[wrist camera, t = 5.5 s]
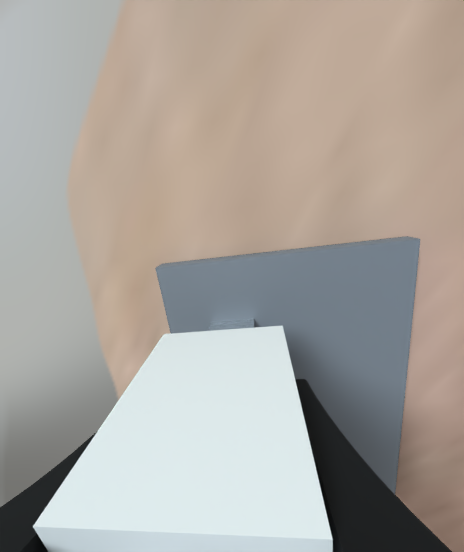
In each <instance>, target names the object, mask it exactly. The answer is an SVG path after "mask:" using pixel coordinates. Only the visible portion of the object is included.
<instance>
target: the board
mask: <svg viewBox="0 0 464 552" xmlns="http://www.w3.org/2000/svg"><path fill="white" fill-rule="evenodd" d="M419 247H420V239H418V238H413V237H408V236H407V237H398V238H389V239H380V240H371V241H362V242H353V243H344V244H335V245H326V246H317V247H308V248H299V249H290V250H281V251H272V252H263V253H255V254H246V255H237V256H228V257H219V258H210V259H201V260H192V261H183V262H174V263H165V264H161V265H159V266H158V267H156V272H157V277H158V281H159V285H160V289H161V294H162V298H163V302H164V306H165V311H166V315H167V319H168V324H169V328H170V332H171V334H173V333H186V332H200V331H208V329H209V326H210V324H211V322H217V321H230V320H243V319H254V323H255V327H269V326H283V330H284V334H285V338H286V342H287V347H288V351H289V355H290V359H291V364H292V368H293V372H294V377H295V379H305V380H307V381H308V383H309V385H310V387H311V389H312V390H313V392H314V394H315V395H316V397H317V398H318V400H319V401H320V403H321V404H322V406H323V407H324V409H325V410H326V412H327V413H328V415H329V416H330V417H331V419H332V420H333V421H334V423H335V424H336V425H337V427H338V428H339V430H340V431H341V432H342V433H343V435H344V436H345V437H346V439H347V440H348V441H349V442H350V444H351V445H352V446H353V447H354V449H355V450H356V451H357V452H358V453H359V455H360V456H361V457H362V458H363V459H364V461H365V462H366V463H367V464H368V465H369V466H370V468H371V469H372V470H373V471H374V472H375V473H376V474H377V476H378V477H379V478H380V479H381V480H382V481H383V482H384V483H385V484H386V485H387V487H388V488H389V489H390V490H391V491H392V492H393V493H394V494H395V489H396V479H397V469H398V459H399V449H400V439H401V428H402V418H403V408H404V398H405V388H406V378H407V368H408V358H409V348H410V338H411V327H412V317H413V307H414V297H415V287H416V277H417V267H418V257H419Z"/></svg>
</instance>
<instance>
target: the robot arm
mask: <svg viewBox="0 0 464 552" xmlns="http://www.w3.org/2000/svg"><path fill="white" fill-rule="evenodd" d="M295 381H296V385H297V389H298V394H299V398H300V402H301V407H302V411H303V415H304V419H305V424H306V428H307V432H308V436H309V441H310V445H311V449H312V454H313V458H314V462H315V466H316V471H317V475H318V479H319V484H320V488H321V492H322V496H323V501H324V505H325V509H326V514H327V518H328V522H329V526H330V531H331V535H332V539H333V552H452V551H451V550H450V549H449V548H448V547H447V546H446V545H445V544H444V543H442V542H441V541H440V540H439V539H438V538H437V537H436V536H435V535H434V534H433V533H432V532H431V531H430V530H429V529H428V528H427V527H426V526H425V525H424V524H423V523H422V522H421V521H420V520H419V519H418V518H417V517H416V516H415V515H414V514H413V513H412V512H411V511H410V510H409V509H408V508H407V507H406V506H405V505H404V504H403V503H402V501H401V500H400V499H399V498H398V497H397V496H396V495H395V494H394V493H393V492H392V491H391V490H390V489H389V488H388V487H387V485H386V484H385V483H384V482H383V481H382V480H381V479H380V478H379V477H378V476H377V474H376V473H375V472H374V471H373V470H372V469H371V468H370V466H369V465H368V464H367V463H366V462H365V461H364V459H363V458H362V457H361V456H360V455H359V453H358V452H357V451H356V450H355V449H354V447H353V446H352V445H351V444H350V442H349V441H348V440H347V439H346V437H345V436H344V435H343V433H342V432H341V431H340V430H339V428H338V427H337V425H336V424H335V423H334V421H333V420H332V419H331V417H330V416H329V415H328V413H327V412H326V410H325V409H324V407H323V406H322V404H321V403H320V401H319V400H318V398H317V397H316V395H315V394H314V392H313V390H312V389H311V387H310V385H309V383H308V381H307V380H305V379H295ZM97 432H98V431H97ZM97 432H96V433H97ZM96 433H95V434H96ZM95 434H94V435H92V436H91V437H90V438H89V439H88V440H87V441H86V442H84V443H83V444H82V445H81V446H80V447H79V448H78V449H77V450H75V451H74V452H73V453H72V454H71V455H69V456H68V457H67V458H66V459H65V460H63V461H62V462H61V463H60V464H58V465H57V466H56V467H55V468H53V469H52V470H51V471H49V472H48V473H47V474H46V475H44V476H43V477H42V478H40V479H39V480H38V481H37V482H35V483H34V484H33V485H31V486H30V487H29V488H27V489H26V490H24V491H23V492H21V493H20V494H19V495H17V496H16V497H14V498H13V499H12V500H10V501H9V502H7V503H6V504H5V505H3V506H2V507H0V552H48V550H47V549H46V547H45V545H44V544H43V542H42V541H41V539H40V537H39V536H38V534H37V533H36V531H35V529H34V528H33V525H34V524H35V523H36V521H37V520H38V518H39V517H40V515H41V514H42V512H43V511H44V509H45V508H46V506H47V505H48V503H49V502H50V500H51V499H52V498H53V496H54V495H55V493H56V492H57V490H58V489H59V487H60V486H61V484H62V483H63V481H64V480H65V478H66V477H67V476H68V474H69V473H70V471H71V470H72V468H73V467H74V465H75V464H76V462H77V461H78V459H79V458H80V456H81V455H82V454H83V452H84V451H85V449H86V448H87V446H88V445H89V443H90V442H91V440H92V439H93V437H94V436H95Z"/></svg>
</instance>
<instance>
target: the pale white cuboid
mask: <svg viewBox="0 0 464 552" xmlns="http://www.w3.org/2000/svg"><path fill="white" fill-rule="evenodd" d="M33 528H34V529H35V531H36V533H37V534H38V536H39V537H40V539H41V541H42V542H43V544H44V545H45V547H46V549H47V550H48V552H333V539H332V535H331V531H330V526H329V522H328V518H327V514H326V509H325V505H324V501H323V496H322V492H321V488H320V484H319V479H318V475H317V471H316V466H315V462H314V458H313V454H312V449H311V445H310V441H309V436H308V432H307V428H306V424H305V419H304V415H303V411H302V407H301V402H300V398H299V394H298V389H297V385H296V381H295V377H294V372H293V368H292V364H291V359H290V355H289V351H288V347H287V342H286V338H285V334H284V330H283V326H269V327H255V328H242V329H228V330H214V331H200V332H186V333H173V334H164V335H163V336H162V338H161V339H160V340H159V342H158V343H157V345H156V346H155V348H154V349H153V351H152V352H151V354H150V355H149V357H148V358H147V360H146V361H145V363H144V364H143V365H142V367H141V368H140V370H139V371H138V373H137V374H136V376H135V377H134V379H133V380H132V382H131V383H130V385H129V386H128V387H127V389H126V390H125V392H124V393H123V395H122V396H121V398H120V399H119V401H118V402H117V404H116V405H115V407H114V408H113V410H112V411H111V412H110V414H109V416H108V417H107V418H106V420H105V421H104V423H103V424H102V426H101V427H100V429H99V430H98V432H97V433H96V434H95V436H94V437H93V439H92V440H91V442H90V443H89V445H88V446H87V448H86V449H85V451H84V452H83V454H82V455H81V456H80V458H79V459H78V461H77V462H76V464H75V465H74V467H73V468H72V470H71V471H70V473H69V474H68V476H67V477H66V478H65V480H64V481H63V483H62V484H61V486H60V487H59V489H58V490H57V492H56V493H55V495H54V496H53V498H52V499H51V500H50V502H49V503H48V505H47V506H46V508H45V509H44V511H43V512H42V514H41V515H40V517H39V518H38V520H37V521H36V523H35V524H34V525H33Z"/></svg>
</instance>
